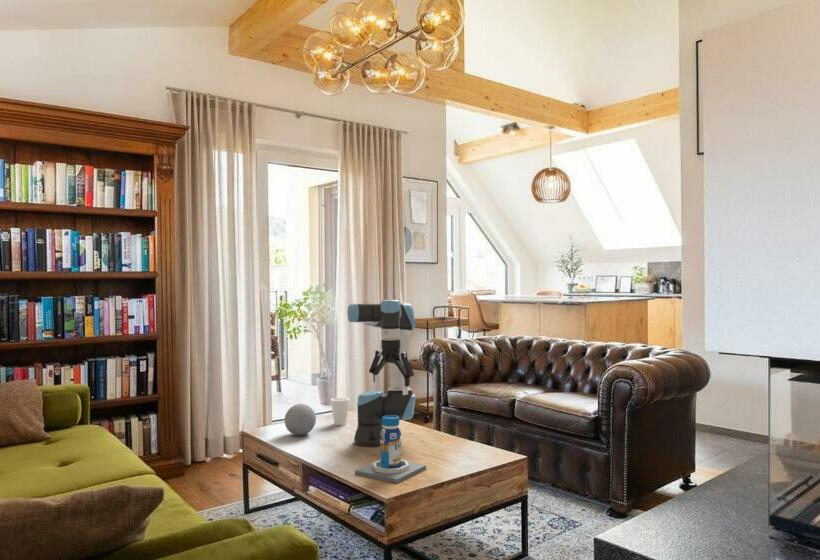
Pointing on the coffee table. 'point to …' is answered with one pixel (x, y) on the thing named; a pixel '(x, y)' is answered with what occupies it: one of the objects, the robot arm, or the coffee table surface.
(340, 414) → the foam cup
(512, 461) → the coffee table surface
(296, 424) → the decorative ball
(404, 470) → the slate plate
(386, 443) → the beverage bottle
